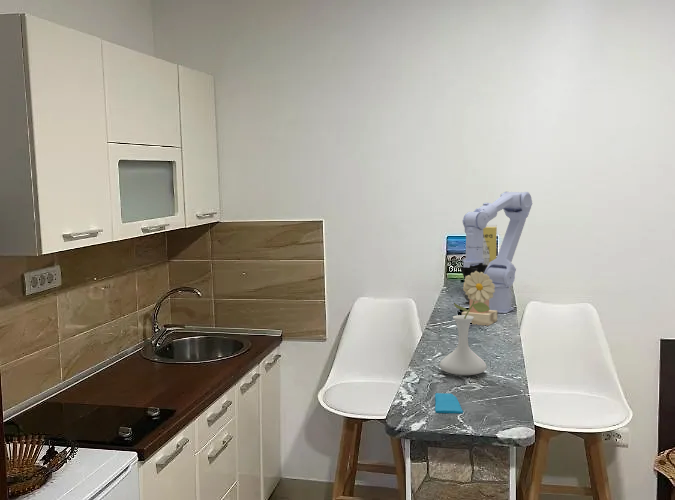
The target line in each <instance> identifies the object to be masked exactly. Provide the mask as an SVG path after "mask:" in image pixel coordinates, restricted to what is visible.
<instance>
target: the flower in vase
mask: <svg viewBox="0 0 675 500" xmlns="http://www.w3.org/2000/svg"><path fill="white" fill-rule="evenodd" d="M489 278H490V277H489V276H488V275H487V274H484V273H483V272H480V273H479V272H477V271H475V272H474V273H471V276H470V275H468V276H466V277H465V280H464V282H463V288H462V290H463V291H464V294H465V293H466V295H468V298H469V299H472V300H473V303H472V305H471V307H470V309H469V308H468V309H467V308H465V307H464V306H461V305H458V304H457V303H455V302H453V304H454V307H455V308H456V309H459V310H461V311H462V312H464V311H466V312H467V310H468V312H467V313H466V315H462V314H461V315H460V314H459V315H454V316H452V318H453V320H454V322H455V323H456V327H457V333H458V342H457V346H456V347H455V348H454V350H453V351H451V352H450V353H449V354H447V355H446V356H445V357H443V358H442V359H441V360H440V362H439V364H438V366H439V368H440V370H442V371H444V372H445V373H448V374H452V375H456V376H475V375H478V374H481V373H483V372H485V371H486V370H487V368H488V366H487V363H486V362H485V361H484V360H483V359H482V357H480V356H478V354H476V352H474V351H473V350H472V349H471V348H470V346H469V339H468V338H469V330H470V329H469V328H470V325H471V324H470V323H471V321H472V320H473V319H474V317H473V316H468V315H467V314H468V313H469V311H470V310H471V308H472V306H473V307H474V308H475V309H476V310H477V311H478V312H485V311H488V310H490V308H489V307H488V306H487V305H486V304H484V302H486V300H489V299H490V298H493V293H494V292H495V290H494V289H495V286H494V284H493V283H492V280H491V279H489ZM475 301H478V303H476V304H474V302H475Z"/></svg>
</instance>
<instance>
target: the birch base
mask: <svg viewBox="0 0 675 500" xmlns="http://www.w3.org/2000/svg"><path fill="white" fill-rule="evenodd" d="M468 310H469V309H467V312H468ZM467 312H466V311H462V312H461V315H466V313H467ZM467 315H468V316H473V317H474V319H473V320H472V321H471V323H472V324H471V325H476V324H477V325H479V326H485V325H486V327H487V326H490V325H492V324H494V323H496V322H497V321H498V313H497V311H496V310H489V311H488V312H486V313H474V312H469V313H468V314H467Z"/></svg>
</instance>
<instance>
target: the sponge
mask: <svg viewBox="0 0 675 500" xmlns="http://www.w3.org/2000/svg"><path fill="white" fill-rule="evenodd" d="M434 403H435V406H434V410H435V413H436V414H458V415H459V414H460V415H461V414H463V413H464V410H463V409H462V405H461V404H460V402H459V400H458V397H457V396H455V395H454V394H453V393H448V392H447V393H446V392H445V393H441V392H436V393H435V394H434Z"/></svg>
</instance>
